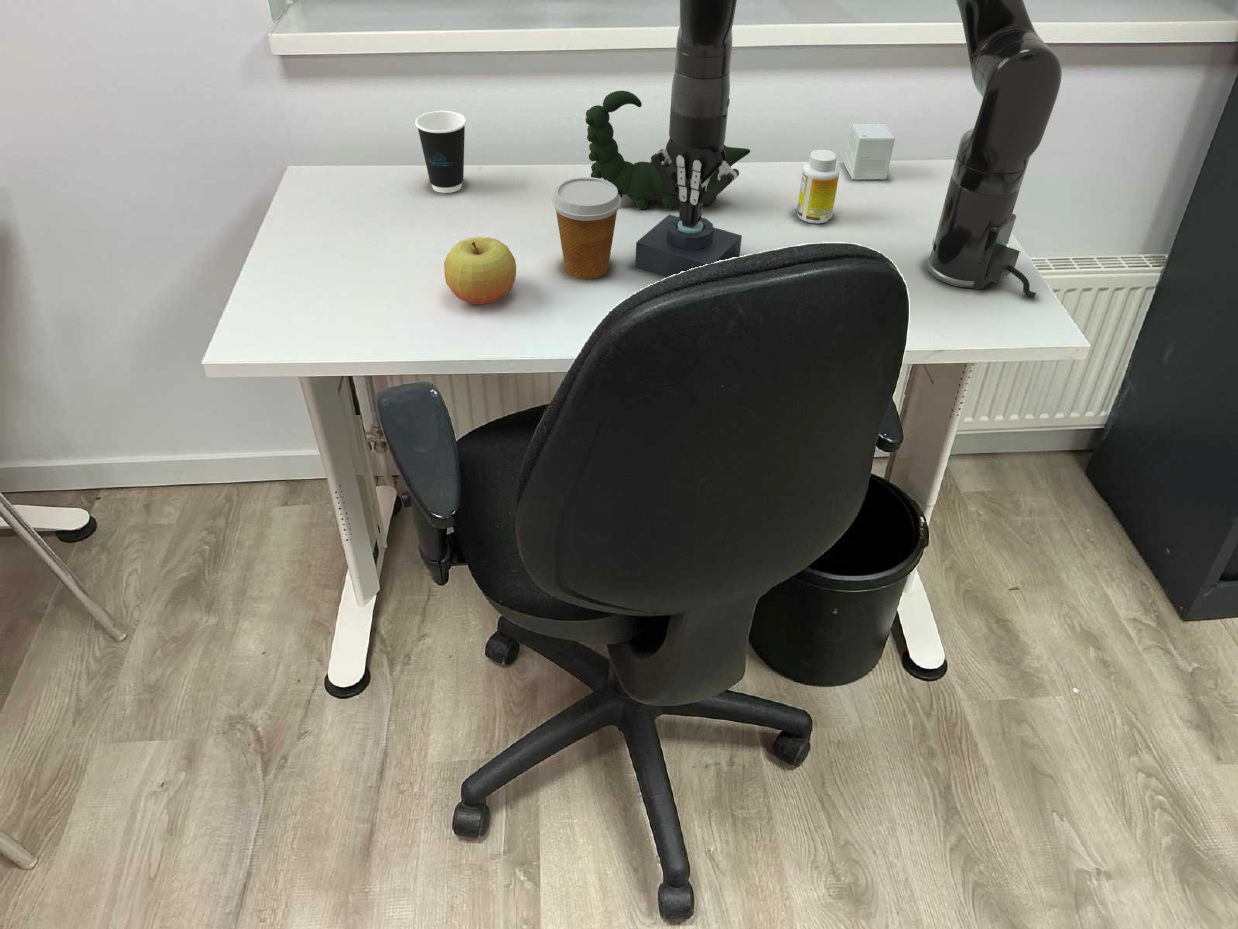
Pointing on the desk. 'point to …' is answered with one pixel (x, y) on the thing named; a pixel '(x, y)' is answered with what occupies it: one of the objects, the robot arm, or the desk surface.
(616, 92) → the toy figurine
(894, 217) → the desk surface
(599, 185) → the disposable coffee cup
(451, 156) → the dixie cup
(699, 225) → the teal button cap
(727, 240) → the button housing
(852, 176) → the product box
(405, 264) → the desk surface
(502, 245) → the apple
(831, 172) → the supplement bottle
